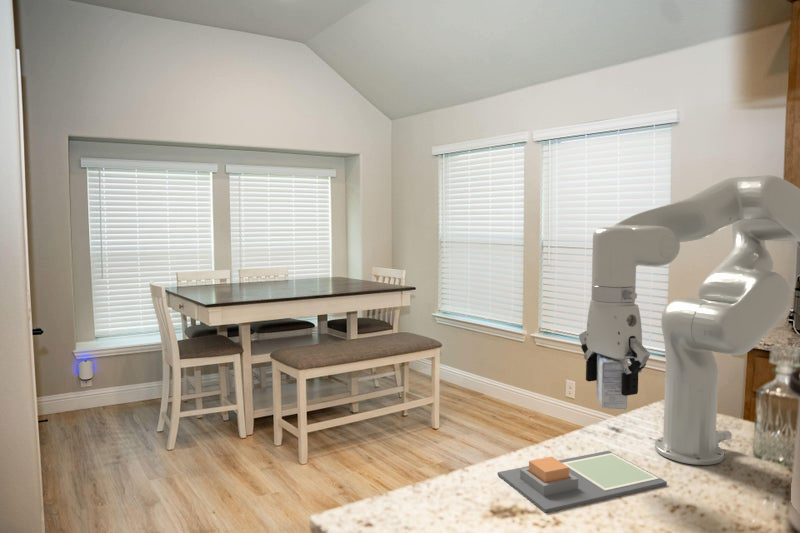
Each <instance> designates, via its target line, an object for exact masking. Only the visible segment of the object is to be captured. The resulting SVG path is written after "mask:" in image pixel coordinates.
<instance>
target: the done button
mask: <svg viewBox="0 0 800 533" xmlns="http://www.w3.org/2000/svg"><path fill="white" fill-rule="evenodd" d="M528 466H529V472H530V473H531V474H533V475H534V476H535V477H537V478H538V479H540V480H541V481H542V482H544V483H548V482H553V481H558V480H563V479H568V478H569V467H568V466H566V465H565V464H563V463H561V462H560V461H558V459H557V458H555V457H554V456H548V457H544V458H537V459H533V460H528Z"/></svg>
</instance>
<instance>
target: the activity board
mask: <svg viewBox="0 0 800 533" xmlns="http://www.w3.org/2000/svg"><path fill="white" fill-rule="evenodd" d="M557 460H558V459H557ZM558 461H560V462H561V463H563V464H565V465H566V466H568V467H569V478H568V479H563V480H558V481H553V482H548V483H544V482H542V481H541V480H540V479H538V478H537V477H535V476H534V475H533V474H531V473H530V472H529V465H528V466H522V467H518V468H513V469H507V470H503V471H501V470H500V471H497V476H498V477H499V478H501V479H502V480H503V481H504V482H505V483H506V484H508V485H509V486H510V487H511V488H513V489H514V490H516V491H517V492H518V493H520V495H522V496H523V497H524V498H526V499H527V500H528V501H529V502H531V503H532V504H533V505H534V506H535V507H538V509H540V511H542V512H544V513H545V514H546V513H551V512H555V511H560V510H565V509H568V508H572V507H577V506H581V505H586V504H591V503H594V502H599V501H603V500H607V499H613V498H616V497H620V496H624V495H625V496H626V495H628V494H634V493H637V492H638V493H639V492H642V491H647V490H651V489H655V488H659V487H663V486H667V485H668V482H667V480H664V479H663V478H661V477H660V476H657V475H655V474H653V473H651V472H649V471H648V470H646V469H644V468H643V467H640V466H639V465H637V464H635V463H632V462H631V461H629V460H628V459H626V458H623V457H622V456H620V455H618V454H616V453H614V452H612V451H610V450H606V451H600V452H595V453H589V454H584V455H579V456H574V457H568V458H563V459H559V460H558Z"/></svg>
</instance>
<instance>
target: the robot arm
mask: <svg viewBox="0 0 800 533" xmlns="http://www.w3.org/2000/svg"><path fill="white" fill-rule="evenodd" d="M730 225H731V226H732V231H731V232H732V248H731V251H730V253H728V254H727V256H726V257H725V258H724V259H723V260H722V261H721V262H720V263H718V265H717V266H716V267H715V268H714V269H713V270H712V271H711V272H710V273H709V274H708V275H707V276H706V277H705V278H704V280H703V281H702V282H701V284H700V286H699V288H698V298H694V297H681V298H676V299H673V300H672V301H670V302H668V304H667V305H666V306H665V307H664V309H663V311H662V315H661V318H660V319H661V322H660V323H661V330H662V331H661V332H662V336H663V341H664V342H663V343H664V350H665V351H664V352H665V374H664V376H665V377H664V378H665V380H664V401H663V402H664V404H663V405H664V406H663V430H662V431H663V435H662V437H659V438H657V439H656V440H655V441H654V449H655V451H656V452H657V453H658V454H659V455H660V456H663V457H665V458H667V459H670V460H672V461H675V462H678V463H682V464H689V465H695V466H710V465H716V464H719V463H721V462H723V460H724V459H725V458H724V456H725V452H724V450H723V449H722V448H721V447H720V446H719V444H720V443H721V442H722V441H727V440H730V439H732V433H731V431H730V430H728V429H723V430H719V431H718V430H717V415H718V414H717V413H718V389H719V367H718V364H717V360H716V357H715V356H714V353H718V354H723V355H729V356H742V355H745V354H747V353H749V352H750V351H751V350H753V349H754V348H755V347H756V346H757V345H758V344H759V343H760V341H761V340H762V339H763V338H764V337H765V336H766V335H767V334H768V333H769V331H771V329H772V328H773V327H774V326H776V324H777V323H778V321H780V319H781V318H782V317H783V316H784V314H785V312H786V311H787V309H788V306H789V304H790V298H791V288H790V285H789V282H788V281H787V279H786V278H785V276H783V275H781V274H780V273H778V272H775V271H774V270H773V269H774V262H773V259H772V256H771V254H770V252H769V250H768V249H767V246H766V241H775V242H778V241H779V242H800V188H799V187H798V186H796V185H795V184H794V183H792V182H790V181H789V180H786V179H785V178H782V177H779V176H776V175H770V174H769V175H754V176H737V177H731V178H725V179H723V180H721V181H719V182H717V183H715V184H713V185H711V186H709V187H707V188H705V189H703V190H701V191H700V192H699V191H698V192H697V193H695V194H693V195H691V196H689V197H687V198H684V199H682V200H678V201H675V202H671V203H668V204H665V205H662V206H659V207H656V208H655V207H654V208H651V209H648V210H645V211H642V212H639V213H636V214H634V215H631V216H628V217H627V218H624V219H623V220H621V221H619V222H617V223H616V224H614V225H612V226H610V227H608V226H607V227H606V226H605V227H598V228H597V229H595V230H594V232H593V234H592V256H591V257H592V261H591V262H592V263H591V300H590V303H589V306H588V312H587V313H588V314H587V319H586V320H587V321H586V330H585V331H583V332H581V333H580V334H578V337H579V341H580V345H581V351H582V352H583V359H584V360H585V381H587V382H595V381H596V382H597V354H600V355H603V356H606V357H609V358H612V359H615V360H620V363H621V365H622V367H623V369H624V371H625V373H622V388H621V393H622V395H624V396H627V397H628V396H633V395H637V394H639V374H640V373H641V372H643V371H642V370H643V369H644V368H645V367H646V365H647V362H648V360H649V358H650V355H651V353H650V351H649V350H648V349H646V347H645V346H644V345H643V332H642V331H643V329H642V320H641V313H640V308H639V304H636V299H637V298H638V297H637V296H638V294H637V292H636V287H637V286H636V285H637V284H636V282H637V281H636V280H637V266H643V267H655V268H657V267H664V266H666V265H667V266H668V265H669V264H670V263H672V262H673V261H675V259H677V257H678V255H679V253H680V250H681V243H687V242H693V241H694V242H695V241H700V240H703V239H706V238H708V237H711V236H712V235H714V234H717V232H719V231H721V230H723V229H725V228H727V227H728V226H730ZM713 352H714V353H713ZM629 363H630V364H629Z"/></svg>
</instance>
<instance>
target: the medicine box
mask: <svg viewBox="0 0 800 533" xmlns="http://www.w3.org/2000/svg"><path fill="white" fill-rule="evenodd" d="M622 373H625V371H624V369H623V367H622V365H621V363H620V360H615V359H612V358H609V357H606V356H603V355H600V354H597V381H596V396H597V398H598V401H599V403H600V405H601V407H602V408H603V409H615V410H616V409H617V410H626V409H628V396H624V395H622V393H621V388H622Z"/></svg>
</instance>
